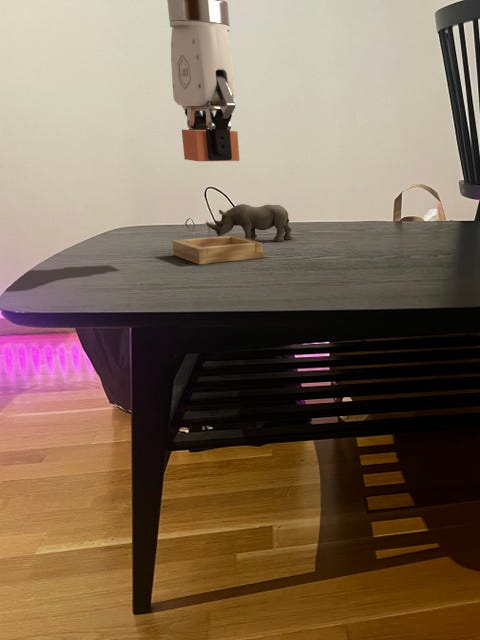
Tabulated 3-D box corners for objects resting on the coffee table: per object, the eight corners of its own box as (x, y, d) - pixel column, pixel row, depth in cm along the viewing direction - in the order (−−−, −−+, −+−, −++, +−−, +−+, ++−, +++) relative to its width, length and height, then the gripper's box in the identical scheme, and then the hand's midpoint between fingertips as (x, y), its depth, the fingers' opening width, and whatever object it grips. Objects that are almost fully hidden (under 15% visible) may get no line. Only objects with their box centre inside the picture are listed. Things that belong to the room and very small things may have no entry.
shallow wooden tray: (199, 264, 98) (198, 249, 97) (173, 255, 104) (171, 240, 103) (263, 257, 105) (262, 242, 104) (235, 249, 111) (234, 235, 110)
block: (198, 161, 96) (195, 130, 95) (184, 159, 99) (181, 129, 98) (239, 160, 100) (237, 131, 99) (224, 158, 103) (222, 130, 102)
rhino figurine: (208, 238, 119) (205, 202, 117) (291, 237, 123) (290, 203, 121) (206, 242, 115) (203, 205, 113) (292, 241, 119) (291, 205, 117)
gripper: (145, 18, 96) (161, 155, 102) (199, 8, 85) (213, 163, 91) (199, 24, 102) (210, 155, 107) (256, 16, 90) (265, 162, 96)
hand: (211, 157), depth 99 cm, fingers closed on block, 4 cm apart
